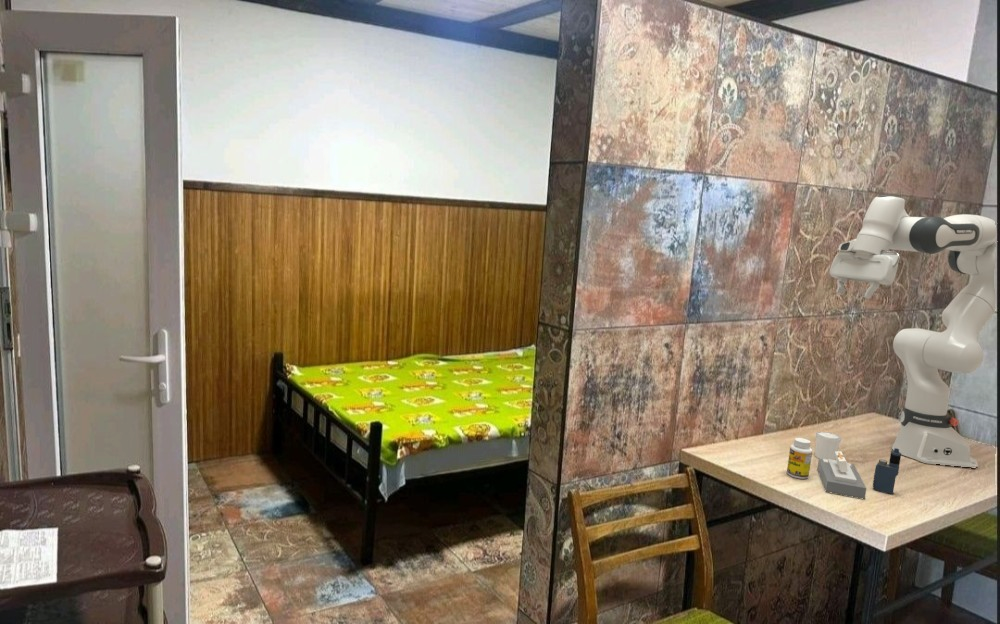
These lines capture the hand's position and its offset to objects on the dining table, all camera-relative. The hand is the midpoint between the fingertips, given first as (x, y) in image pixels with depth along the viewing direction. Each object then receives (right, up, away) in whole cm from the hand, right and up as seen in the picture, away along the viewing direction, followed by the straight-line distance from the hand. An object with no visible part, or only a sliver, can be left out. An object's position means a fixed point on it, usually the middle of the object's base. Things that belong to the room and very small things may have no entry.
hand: (852, 295), depth 186 cm
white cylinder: (-2, -48, +11) cm, 50 cm away
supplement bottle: (-18, -50, -5) cm, 53 cm away
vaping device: (+2, -52, -12) cm, 54 cm away
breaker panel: (-8, -51, -9) cm, 52 cm away
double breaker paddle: (-8, -46, -9) cm, 48 cm away
